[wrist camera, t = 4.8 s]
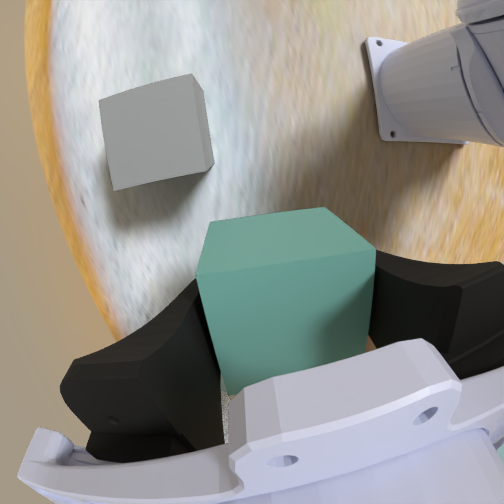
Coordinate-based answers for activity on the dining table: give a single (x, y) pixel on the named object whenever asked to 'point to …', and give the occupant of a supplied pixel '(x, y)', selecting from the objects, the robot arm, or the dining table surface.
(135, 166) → the slate block
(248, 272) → the teal block
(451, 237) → the dining table surface
